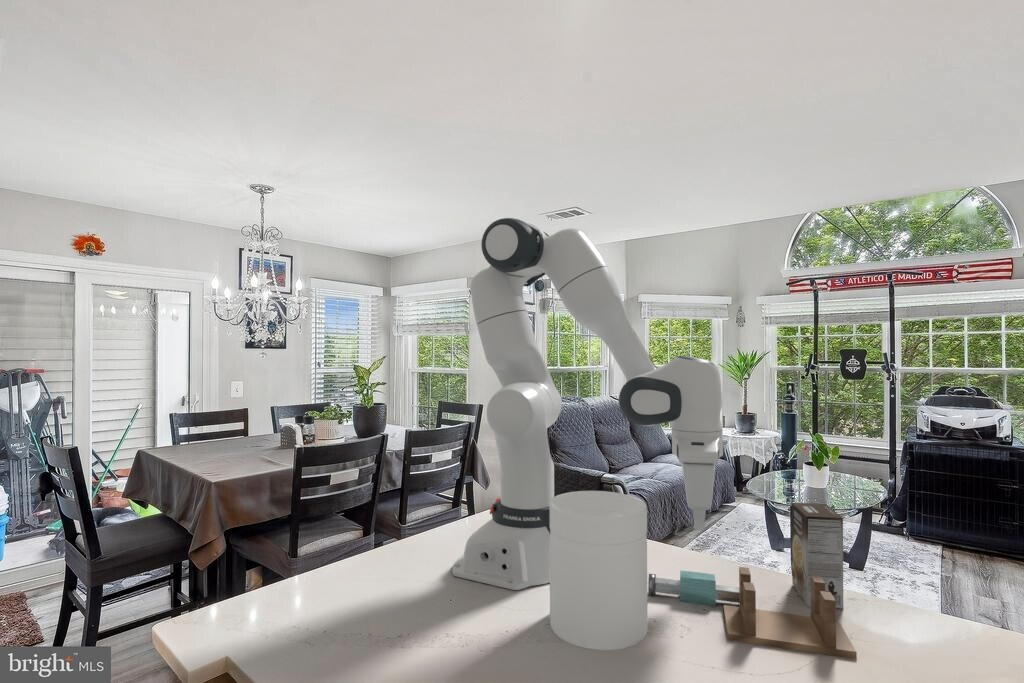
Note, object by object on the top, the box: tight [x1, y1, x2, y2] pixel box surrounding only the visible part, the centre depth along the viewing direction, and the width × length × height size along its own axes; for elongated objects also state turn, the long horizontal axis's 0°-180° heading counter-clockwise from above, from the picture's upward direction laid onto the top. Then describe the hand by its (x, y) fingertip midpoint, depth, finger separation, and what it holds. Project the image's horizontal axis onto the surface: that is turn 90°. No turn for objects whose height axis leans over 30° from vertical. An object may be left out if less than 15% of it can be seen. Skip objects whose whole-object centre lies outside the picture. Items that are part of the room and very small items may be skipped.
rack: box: [723, 566, 858, 659], centre depth 87 cm, size 18×10×8 cm, turn 73°
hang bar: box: [647, 569, 739, 607], centre depth 99 cm, size 17×4×4 cm, turn 73°
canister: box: [549, 490, 649, 652], centre depth 90 cm, size 16×16×20 cm
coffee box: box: [791, 502, 844, 609], centre depth 100 cm, size 9×6×16 cm
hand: (698, 521), depth 99 cm, fingers open, 8 cm apart
